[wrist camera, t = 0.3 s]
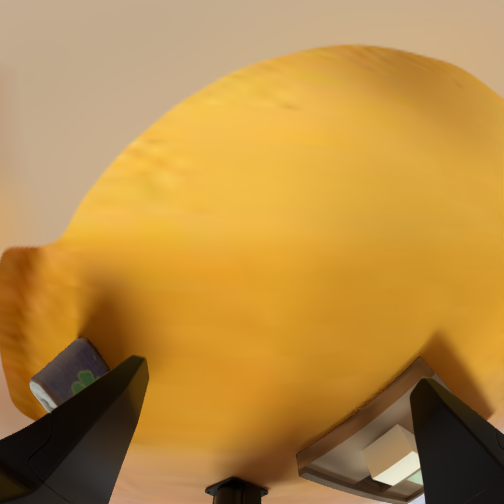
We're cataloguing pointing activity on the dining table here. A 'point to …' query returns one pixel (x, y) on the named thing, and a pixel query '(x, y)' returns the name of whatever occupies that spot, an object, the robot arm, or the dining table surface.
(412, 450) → the block
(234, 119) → the dining table surface
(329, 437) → the box
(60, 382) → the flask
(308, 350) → the dining table surface
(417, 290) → the dining table surface
